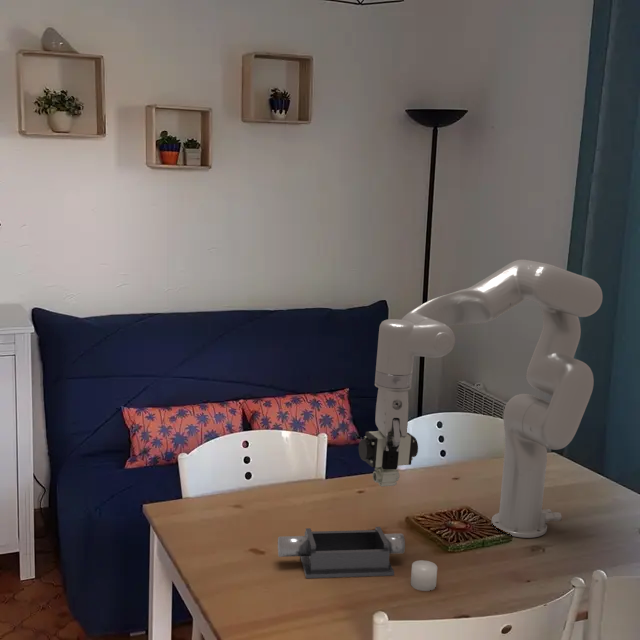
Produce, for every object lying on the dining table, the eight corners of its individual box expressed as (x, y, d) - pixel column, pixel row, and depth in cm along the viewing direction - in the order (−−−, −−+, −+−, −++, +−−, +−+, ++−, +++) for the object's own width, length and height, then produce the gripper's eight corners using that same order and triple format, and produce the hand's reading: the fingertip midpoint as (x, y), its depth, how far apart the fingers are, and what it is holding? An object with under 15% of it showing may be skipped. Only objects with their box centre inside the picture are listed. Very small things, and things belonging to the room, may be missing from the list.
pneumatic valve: (415, 485, 176) (420, 430, 174) (364, 489, 172) (369, 433, 170) (403, 476, 181) (408, 422, 179) (353, 480, 177) (358, 425, 175)
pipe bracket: (394, 548, 182) (396, 522, 181) (408, 574, 170) (410, 547, 169) (275, 551, 178) (276, 524, 177) (281, 579, 166) (282, 551, 165)
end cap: (431, 578, 170) (433, 560, 169) (439, 590, 165) (440, 572, 164) (407, 579, 169) (409, 560, 168) (414, 591, 164) (415, 572, 163)
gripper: (421, 391, 165) (413, 478, 168) (401, 370, 181) (394, 450, 184) (384, 390, 163) (377, 478, 167) (367, 369, 180) (360, 449, 183)
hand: (386, 462), depth 176 cm, fingers closed on pneumatic valve, 5 cm apart
